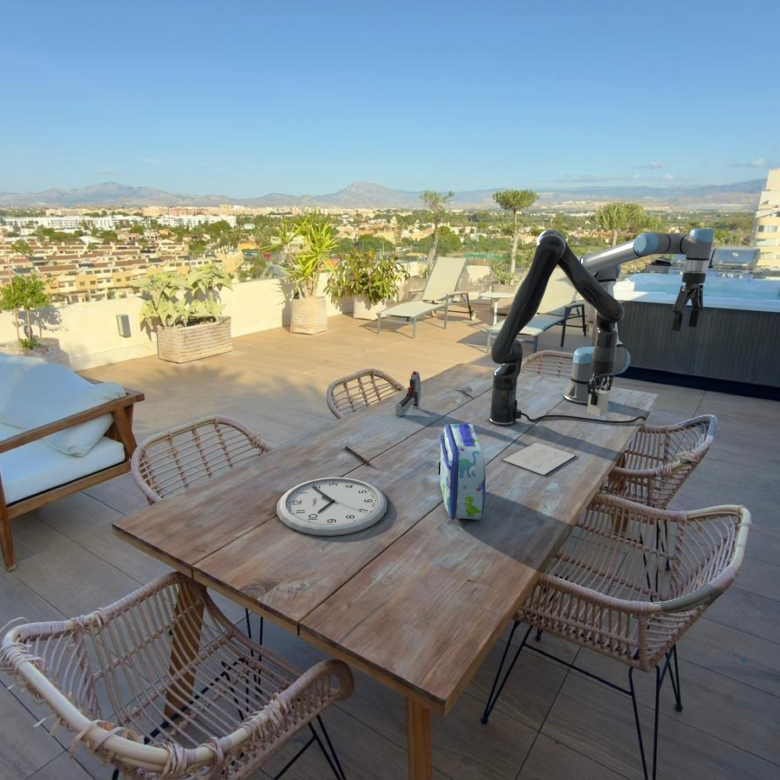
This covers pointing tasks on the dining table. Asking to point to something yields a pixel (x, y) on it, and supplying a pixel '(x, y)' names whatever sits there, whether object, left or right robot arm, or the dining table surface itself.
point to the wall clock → (331, 506)
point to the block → (599, 404)
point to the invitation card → (539, 458)
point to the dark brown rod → (357, 455)
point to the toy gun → (410, 395)
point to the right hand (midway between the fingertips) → (684, 328)
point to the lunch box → (462, 472)
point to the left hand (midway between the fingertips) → (597, 403)
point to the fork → (460, 389)
